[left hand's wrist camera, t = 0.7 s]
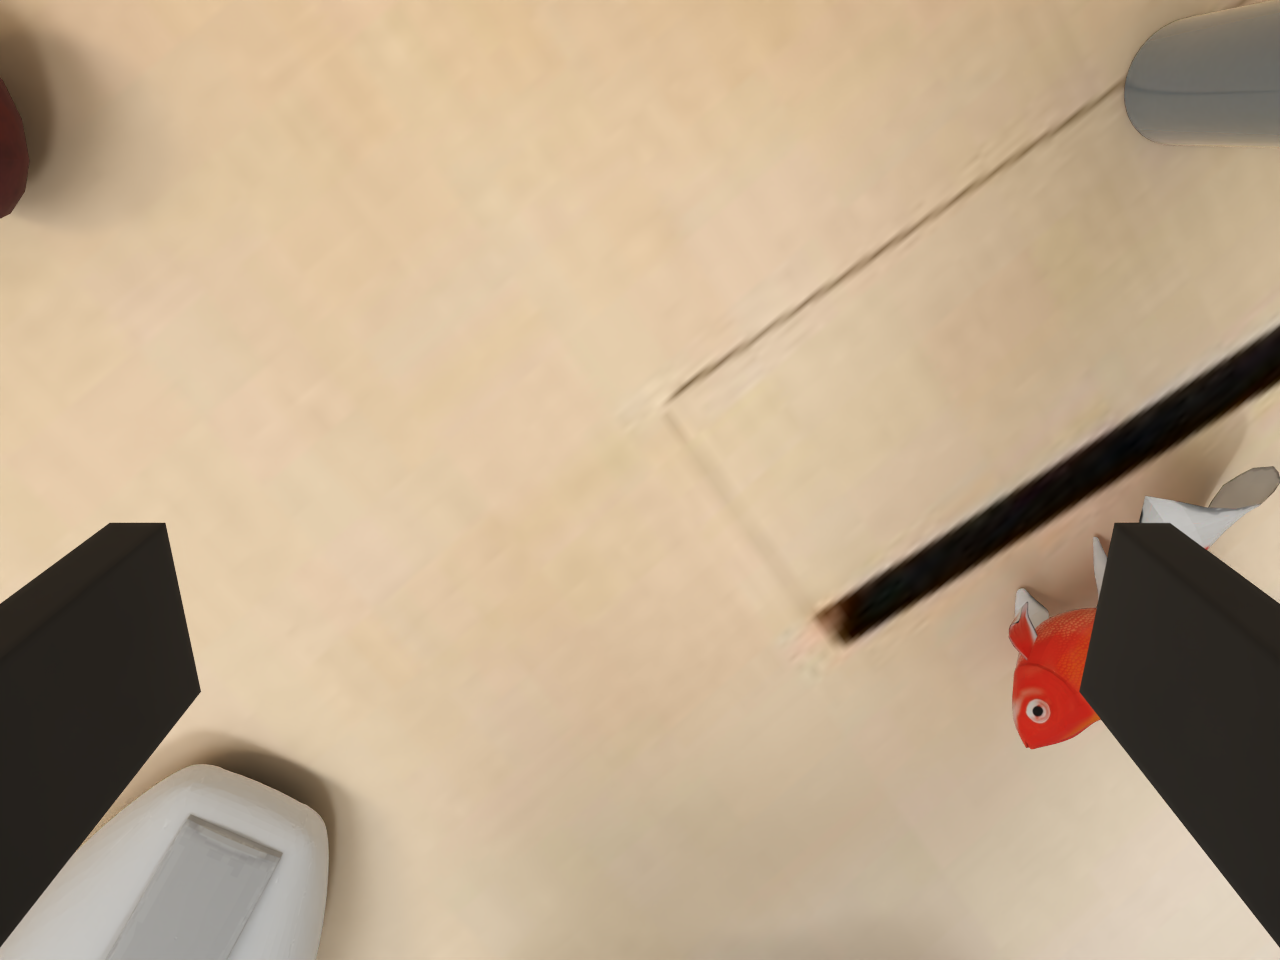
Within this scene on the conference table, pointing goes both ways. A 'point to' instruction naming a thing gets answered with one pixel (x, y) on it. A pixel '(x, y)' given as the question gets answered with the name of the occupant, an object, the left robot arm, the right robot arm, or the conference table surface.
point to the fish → (1062, 641)
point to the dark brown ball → (11, 154)
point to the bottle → (1210, 80)
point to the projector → (188, 879)
